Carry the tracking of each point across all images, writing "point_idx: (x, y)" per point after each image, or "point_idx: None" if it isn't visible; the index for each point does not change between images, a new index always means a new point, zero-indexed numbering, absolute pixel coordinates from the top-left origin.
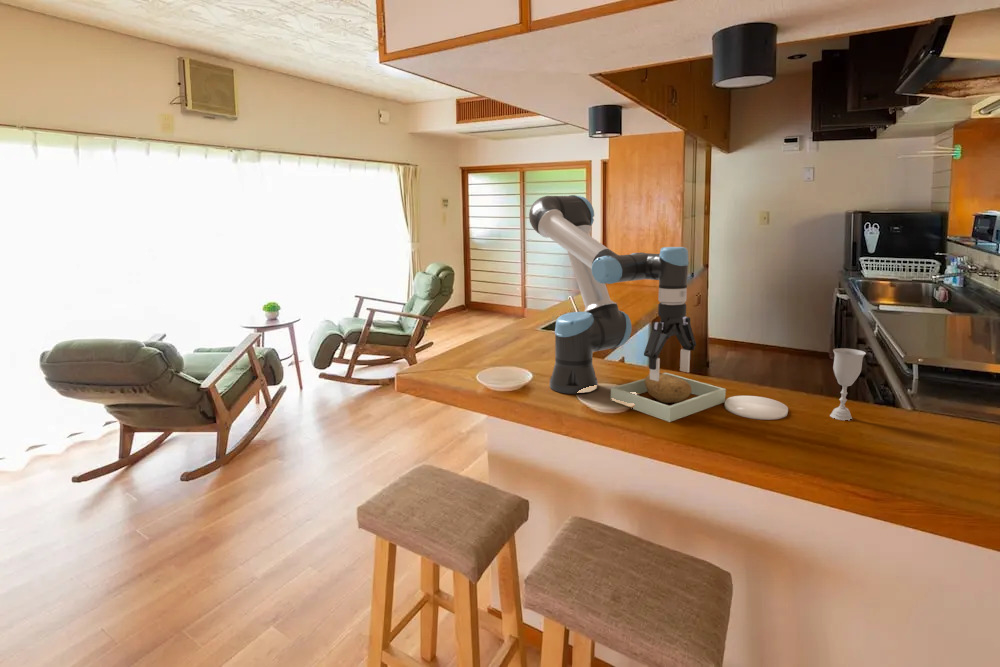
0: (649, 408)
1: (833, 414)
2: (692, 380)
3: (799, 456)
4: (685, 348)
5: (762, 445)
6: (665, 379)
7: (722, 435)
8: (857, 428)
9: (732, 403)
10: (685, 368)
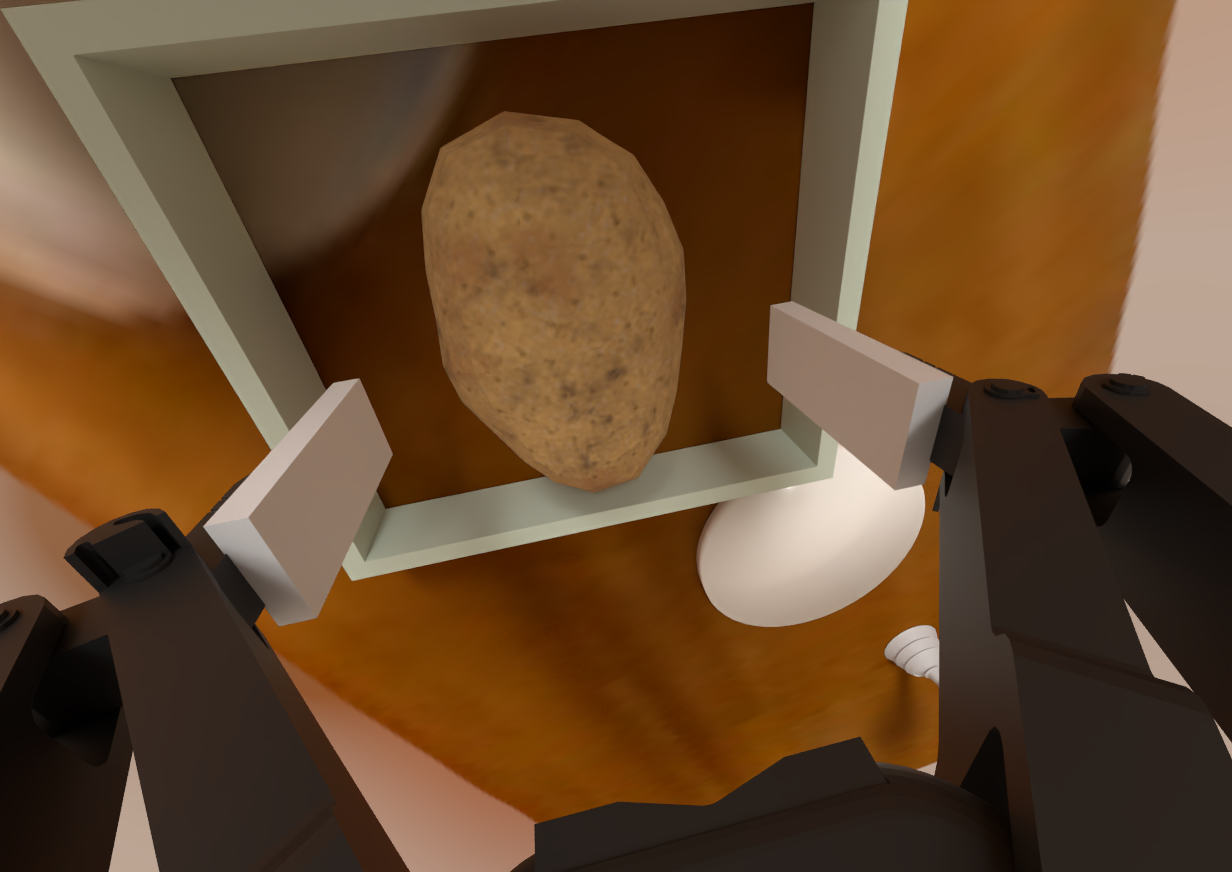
0: None
1: (901, 647)
2: (852, 273)
3: (573, 760)
4: (952, 431)
5: (546, 715)
6: (509, 397)
7: (492, 655)
8: (850, 692)
9: (764, 508)
10: (782, 372)
